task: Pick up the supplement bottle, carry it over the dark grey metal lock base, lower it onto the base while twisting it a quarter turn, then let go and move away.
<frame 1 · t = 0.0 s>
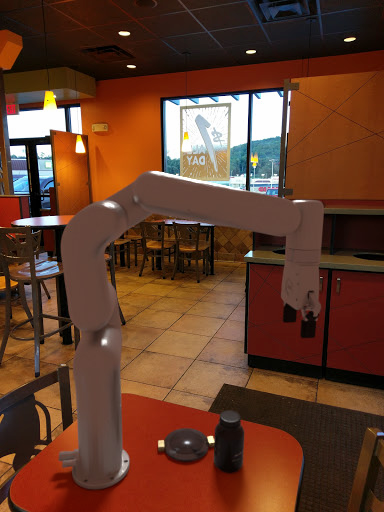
hand: (297, 329, 83), 31 cm above the table, tool pointing down, fingers open, 9 cm apart
supplement bottle: (228, 463, 84), on the table
lock base: (186, 445, 89), on the table
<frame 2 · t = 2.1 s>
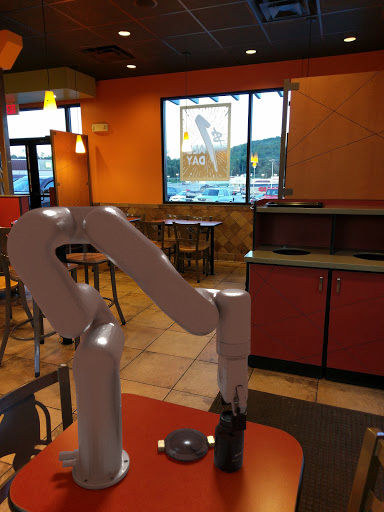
hand: (233, 416, 82), 12 cm above the table, tool pointing down, fingers open, 9 cm apart
nothing on the table moved.
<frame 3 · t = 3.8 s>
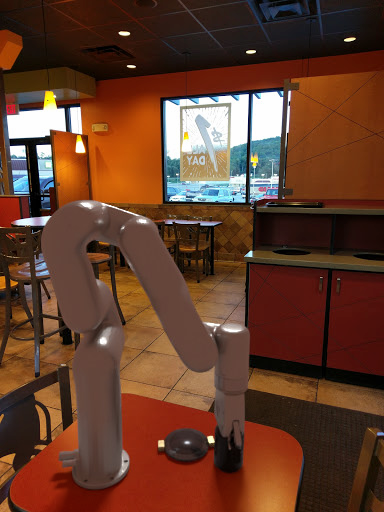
hand: (228, 450, 83), 3 cm above the table, tool pointing down, fingers closed on supplement bottle, 6 cm apart
supplement bottle: (228, 463, 84), on the table, touching gripper
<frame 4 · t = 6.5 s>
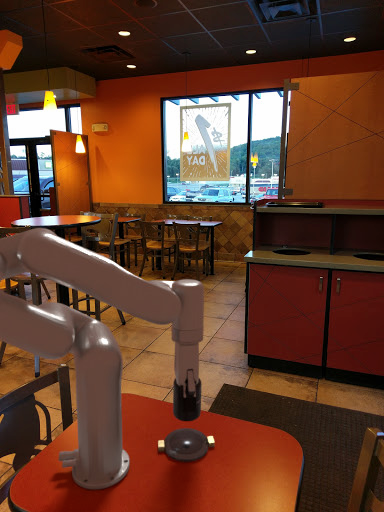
hand: (186, 401, 87), 12 cm above the table, tool pointing down, fingers closed on supplement bottle, 6 cm apart
supplement bottle: (187, 414, 88), point 8 cm above the table, touching gripper
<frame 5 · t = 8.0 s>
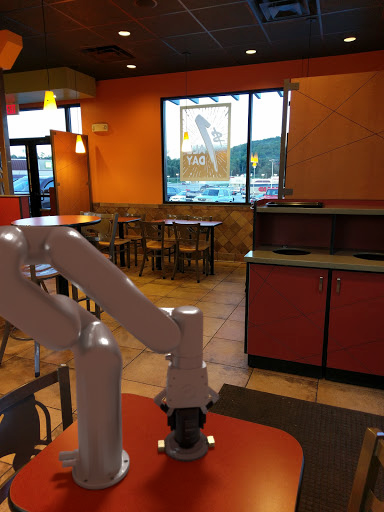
hand: (186, 426, 88), 5 cm above the table, tool pointing down, fingers closed on supplement bottle, 6 cm apart
supplement bottle: (186, 438, 89), point 2 cm above the table, touching gripper
when the fingers open (5 cm above the table, at t = 9.2 s): supplement bottle stays where it is, resting on lock base.
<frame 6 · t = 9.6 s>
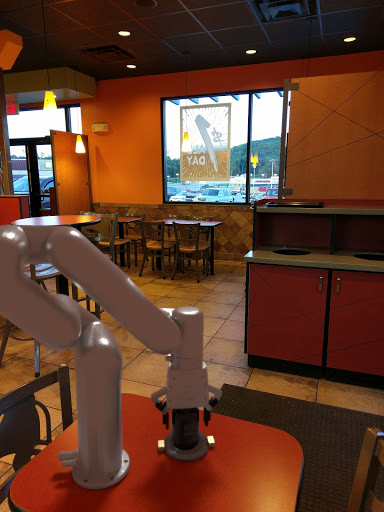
hand: (186, 424, 88), 6 cm above the table, tool pointing down, fingers open, 9 cm apart
supplement bottle: (185, 442, 89), point 1 cm above the table, touching lock base
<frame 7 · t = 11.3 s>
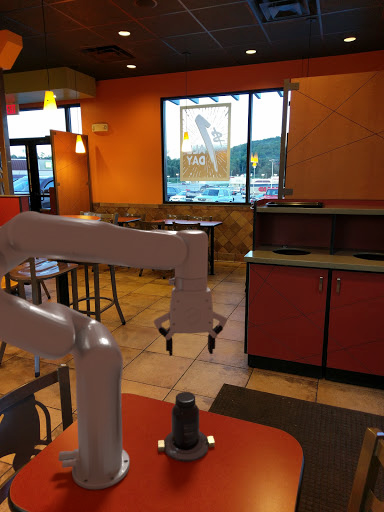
hand: (190, 352, 86), 24 cm above the table, tool pointing down, fingers open, 9 cm apart
nothing on the table moved.
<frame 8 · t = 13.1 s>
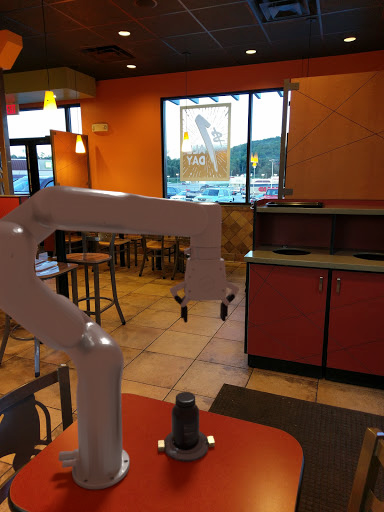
hand: (204, 320, 91), 30 cm above the table, tool pointing down, fingers open, 9 cm apart
nothing on the table moved.
at the end: supplement bottle 0.3 cm from the lock base (horizontally); supplement bottle tilted 0°; the gripper is holding nothing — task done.
